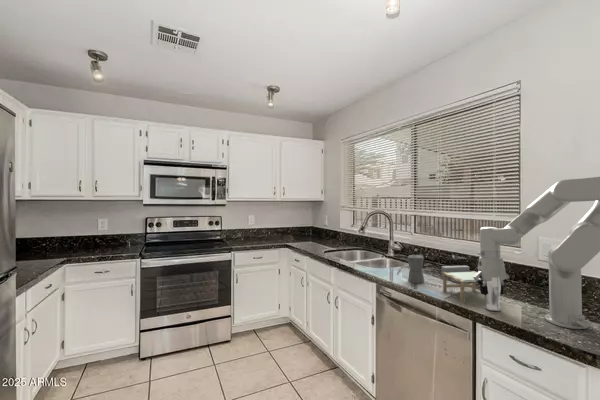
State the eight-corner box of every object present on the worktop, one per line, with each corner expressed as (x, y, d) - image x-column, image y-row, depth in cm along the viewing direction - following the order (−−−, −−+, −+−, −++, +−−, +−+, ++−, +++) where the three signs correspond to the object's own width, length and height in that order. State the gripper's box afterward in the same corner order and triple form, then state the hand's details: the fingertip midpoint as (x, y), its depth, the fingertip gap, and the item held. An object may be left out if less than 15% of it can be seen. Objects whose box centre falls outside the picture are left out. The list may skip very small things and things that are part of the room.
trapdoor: (491, 285, 140) (491, 274, 140) (463, 286, 140) (463, 275, 140) (466, 274, 160) (466, 265, 160) (441, 275, 159) (441, 266, 159)
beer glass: (479, 307, 132) (478, 274, 132) (490, 304, 134) (489, 272, 134) (494, 312, 125) (493, 278, 125) (505, 310, 128) (504, 276, 128)
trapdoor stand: (497, 301, 139) (496, 279, 139) (461, 302, 138) (461, 281, 138) (474, 290, 156) (474, 270, 156) (443, 291, 155) (442, 272, 155)
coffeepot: (415, 285, 167) (415, 254, 167) (402, 281, 175) (401, 251, 175) (432, 280, 175) (431, 251, 175) (418, 277, 183) (418, 248, 183)
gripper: (477, 256, 126) (478, 297, 126) (515, 255, 126) (517, 295, 126) (466, 253, 133) (467, 292, 133) (502, 252, 134) (504, 290, 134)
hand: (491, 293), depth 130 cm, fingers closed on beer glass, 6 cm apart
